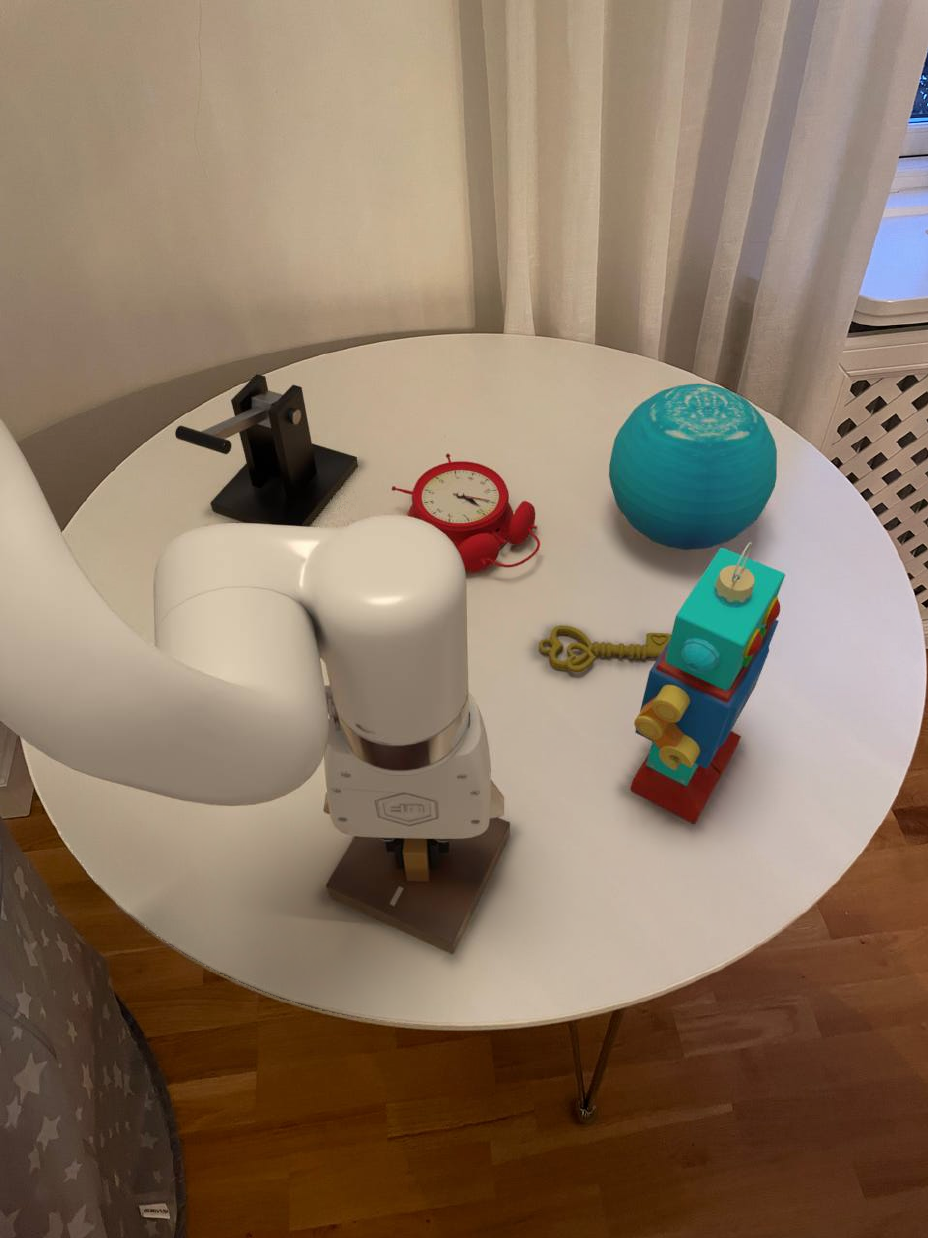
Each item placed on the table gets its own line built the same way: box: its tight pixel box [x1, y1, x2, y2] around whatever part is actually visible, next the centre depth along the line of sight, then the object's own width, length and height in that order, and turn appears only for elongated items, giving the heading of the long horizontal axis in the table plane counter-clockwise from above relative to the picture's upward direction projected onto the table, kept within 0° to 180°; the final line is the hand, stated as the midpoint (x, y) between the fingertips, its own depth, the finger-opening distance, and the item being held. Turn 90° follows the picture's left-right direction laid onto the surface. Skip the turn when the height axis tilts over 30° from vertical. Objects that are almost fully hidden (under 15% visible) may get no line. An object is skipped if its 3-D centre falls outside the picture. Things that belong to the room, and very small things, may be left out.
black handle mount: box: [209, 373, 359, 527], centre depth 91 cm, size 12×10×12 cm
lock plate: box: [325, 817, 511, 955], centre depth 68 cm, size 10×10×2 cm
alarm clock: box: [391, 453, 541, 573], centre depth 89 cm, size 10×6×15 cm
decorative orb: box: [608, 383, 778, 551], centre depth 85 cm, size 15×15×15 cm
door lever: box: [174, 389, 284, 455], centre depth 84 cm, size 12×5×2 cm, turn 155°
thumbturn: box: [403, 838, 430, 882], centre depth 66 cm, size 4×2×5 cm, turn 178°
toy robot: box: [629, 541, 786, 825], centre depth 64 cm, size 12×6×25 cm, turn 147°
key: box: [538, 625, 671, 673], centre depth 81 cm, size 12×1×5 cm
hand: (419, 849), depth 67 cm, fingers closed on thumbturn
